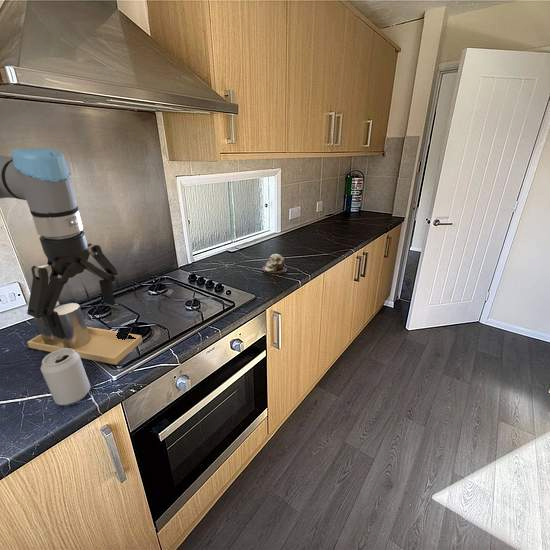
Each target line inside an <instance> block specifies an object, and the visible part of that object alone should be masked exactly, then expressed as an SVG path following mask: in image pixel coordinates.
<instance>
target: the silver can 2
mask: <svg viewBox="0 0 550 550" xmlns="http://www.w3.org/2000/svg"><path fill="white" fill-rule="evenodd" d="M54 311H55V312H58V315H59V318H60V321H61V324H62V327H63V330H64V333H65V336H66V337H65V338H64V339H61V340H62V343H63V345H64V348H71V349H77V348H80V347H82V346H84V345H86V344H87V343H88V342H89V341H90V335H89V332H88V329H87V327H88V326H87V324H86V321H85V318H84V314H83V312H82V309H81V306H80V304H79V303H75V302H69V303H64V304H60V306H59V307H57V308H55V309H54Z"/></svg>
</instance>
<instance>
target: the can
mask: <svg viewBox="0 0 550 550" xmlns="http://www.w3.org/2000/svg"><path fill="white" fill-rule="evenodd" d="M40 372H41V374H42V376H43V379H44V381H45V383H46V385H47V387H48V390H49V392H50V395H51V396H52V399H53V401H54V403H55V404H56V405H58V406H59V405H60V406H67V405H71V404H76V403H78V402H79V401H81V400H82V399H84V398H85V397H86V396H87V394H89V392H90V390H91V384H90V381H89V378H88V375H87V373H86V370H85V367H84V363H83V361H82V358H80V356H79V354H78V353H77V352H74V350H73V349H71V348H63V349H59V350H56V351H54V352H49V353H48V354H46V355H45V356H44V358H42V360H41V366H40Z"/></svg>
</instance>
